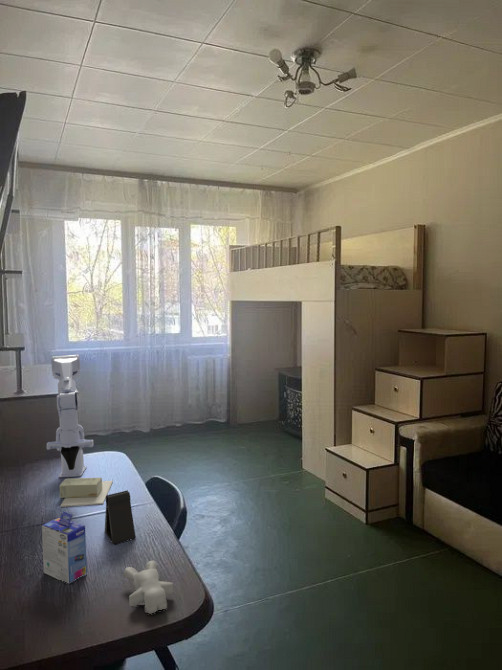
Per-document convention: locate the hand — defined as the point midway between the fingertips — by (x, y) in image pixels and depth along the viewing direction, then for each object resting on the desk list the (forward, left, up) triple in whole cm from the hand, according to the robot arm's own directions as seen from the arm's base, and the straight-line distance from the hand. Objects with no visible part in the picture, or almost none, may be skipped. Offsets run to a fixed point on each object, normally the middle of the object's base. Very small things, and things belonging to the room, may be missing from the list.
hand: (71, 468), depth 162 cm
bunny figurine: (+59, +30, -9) cm, 67 cm away
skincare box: (0, -3, -6) cm, 7 cm away
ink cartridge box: (+47, +10, -9) cm, 49 cm away
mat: (0, +5, -9) cm, 10 cm away
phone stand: (+30, +20, -9) cm, 37 cm away
